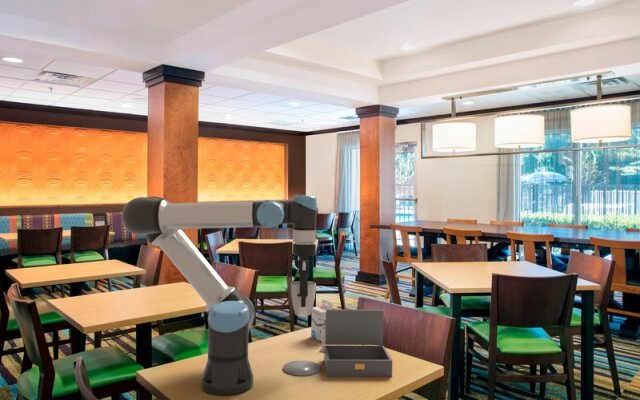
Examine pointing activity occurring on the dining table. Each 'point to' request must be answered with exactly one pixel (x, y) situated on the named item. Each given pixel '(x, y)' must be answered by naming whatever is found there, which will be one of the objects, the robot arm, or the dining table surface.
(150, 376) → the dining table surface
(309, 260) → the robot arm
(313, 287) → the cup
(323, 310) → the ink box
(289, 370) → the slate coaster
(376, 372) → the case
